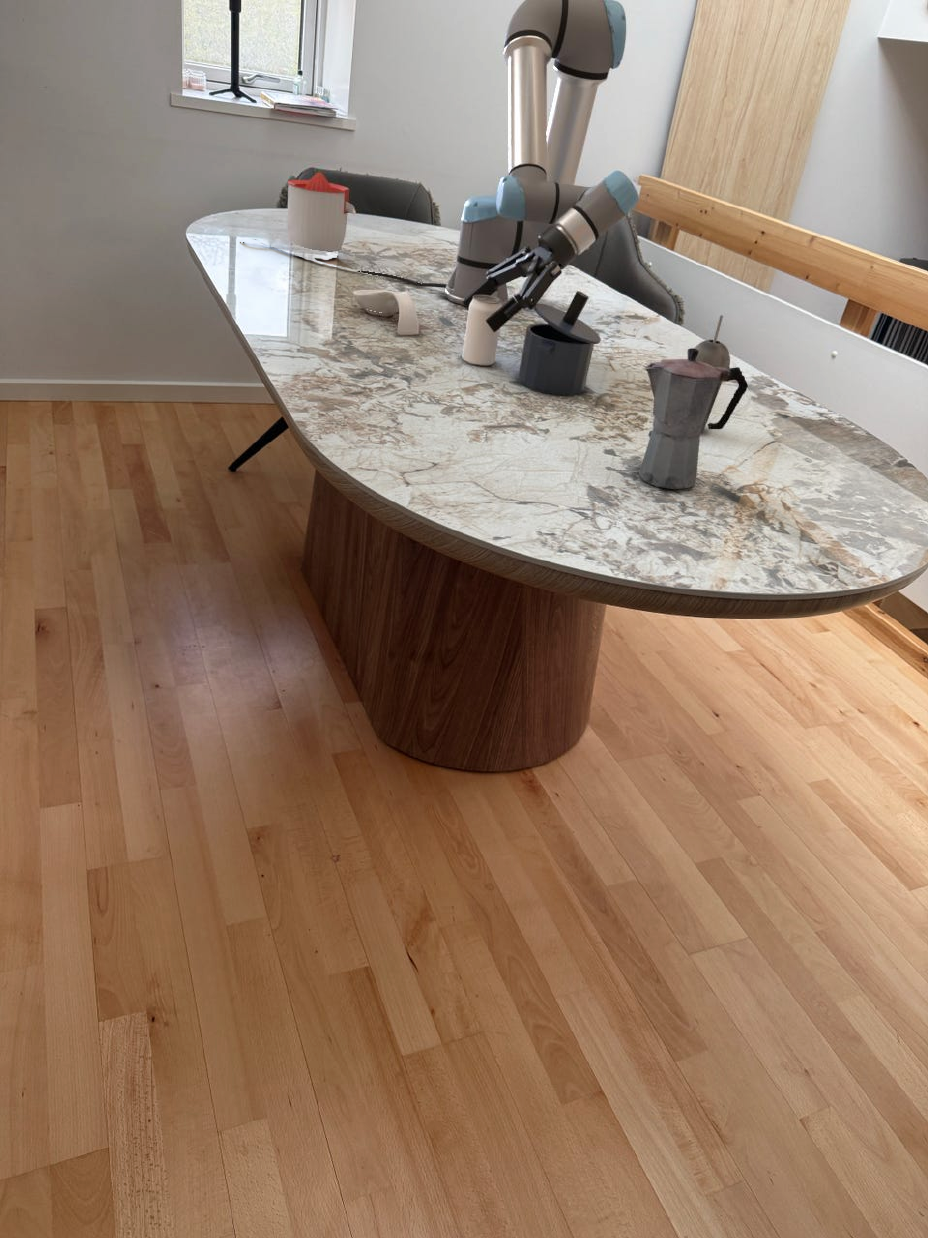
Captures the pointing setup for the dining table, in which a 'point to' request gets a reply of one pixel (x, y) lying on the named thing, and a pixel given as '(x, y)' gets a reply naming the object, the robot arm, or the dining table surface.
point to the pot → (553, 361)
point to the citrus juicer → (318, 213)
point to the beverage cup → (713, 359)
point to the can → (481, 331)
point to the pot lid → (569, 319)
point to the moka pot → (682, 417)
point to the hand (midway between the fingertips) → (477, 316)
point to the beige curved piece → (390, 307)
